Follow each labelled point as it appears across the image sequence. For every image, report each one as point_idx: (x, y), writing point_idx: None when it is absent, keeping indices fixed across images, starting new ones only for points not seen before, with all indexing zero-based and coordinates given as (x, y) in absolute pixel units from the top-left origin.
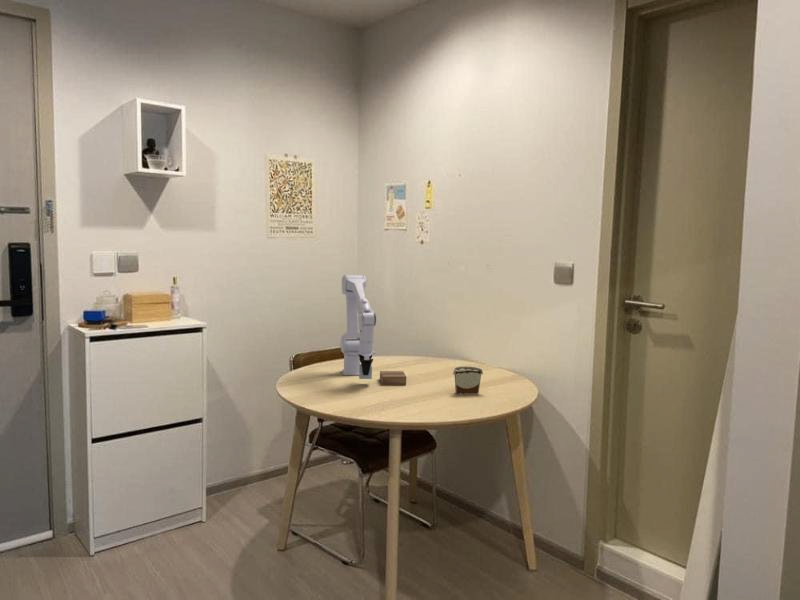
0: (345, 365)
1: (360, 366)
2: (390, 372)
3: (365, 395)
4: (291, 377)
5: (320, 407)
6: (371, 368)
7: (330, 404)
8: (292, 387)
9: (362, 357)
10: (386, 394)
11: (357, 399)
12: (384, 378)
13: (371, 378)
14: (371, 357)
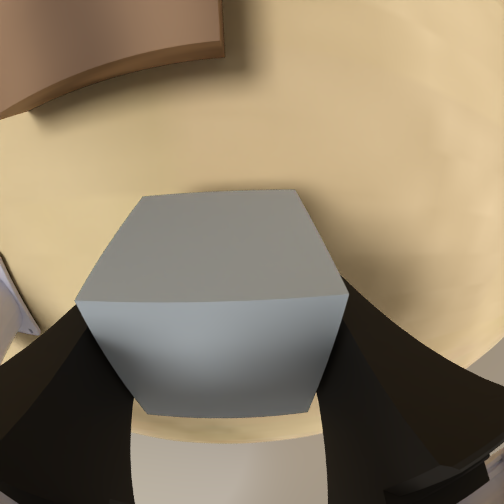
0: (4, 355)
1: (284, 411)
2: (15, 9)
3: (475, 227)
4: (159, 435)
5: (490, 342)
6: (338, 281)
7: (488, 330)
8: (284, 432)
9: (113, 484)
10: (485, 100)
11: (498, 262)
12: (220, 23)
13: (296, 193)
14: (9, 431)
